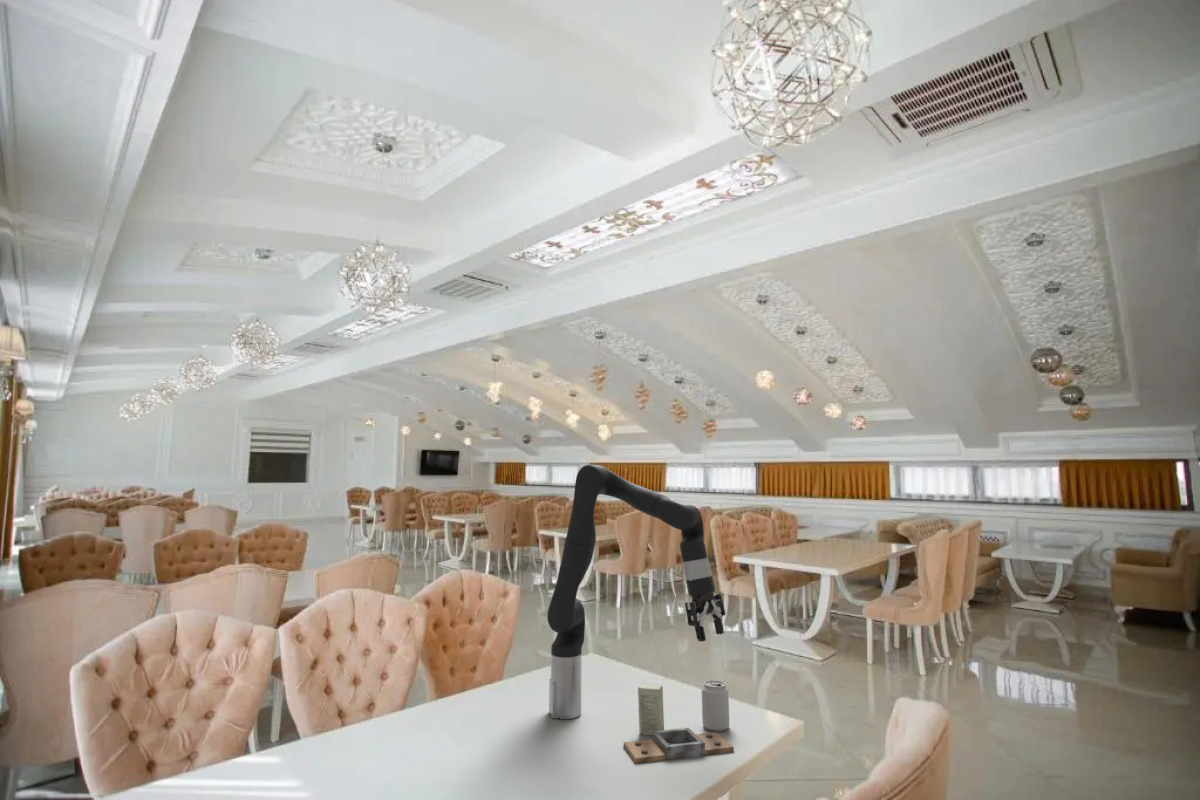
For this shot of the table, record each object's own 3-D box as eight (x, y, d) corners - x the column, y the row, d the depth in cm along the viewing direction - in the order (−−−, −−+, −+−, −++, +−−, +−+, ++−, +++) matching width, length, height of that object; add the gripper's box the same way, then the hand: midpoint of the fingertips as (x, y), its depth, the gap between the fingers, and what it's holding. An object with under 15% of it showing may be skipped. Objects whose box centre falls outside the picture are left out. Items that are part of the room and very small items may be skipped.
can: (729, 733, 164) (728, 687, 166) (702, 731, 165) (701, 685, 167) (729, 723, 171) (728, 679, 173) (703, 721, 173) (701, 677, 175)
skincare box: (664, 731, 165) (663, 684, 167) (660, 737, 161) (660, 689, 163) (642, 728, 168) (641, 682, 170) (638, 734, 164) (637, 687, 165)
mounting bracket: (635, 764, 146) (635, 750, 146) (623, 746, 155) (623, 734, 156) (734, 752, 152) (733, 739, 153) (716, 736, 162) (715, 724, 163)
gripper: (702, 573, 174) (715, 632, 170) (672, 581, 164) (684, 643, 160) (724, 571, 169) (737, 631, 165) (693, 579, 159) (707, 643, 155)
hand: (711, 637), depth 162 cm, fingers open, 8 cm apart
